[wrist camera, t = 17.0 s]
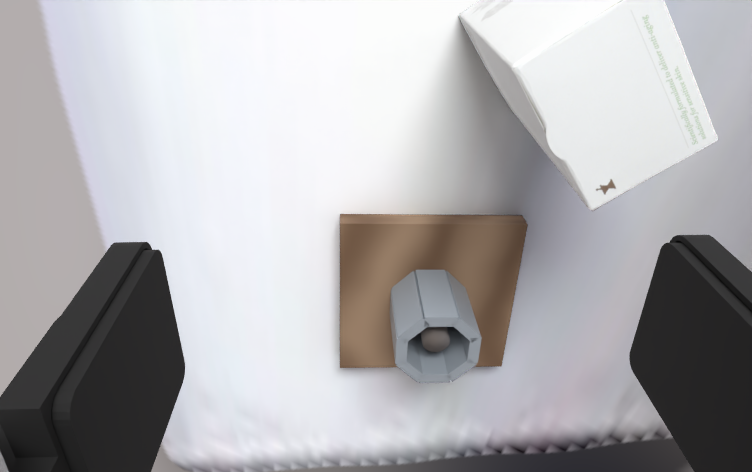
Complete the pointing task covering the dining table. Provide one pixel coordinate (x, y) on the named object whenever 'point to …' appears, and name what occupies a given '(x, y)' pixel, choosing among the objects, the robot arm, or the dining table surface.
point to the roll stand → (425, 252)
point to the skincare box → (595, 86)
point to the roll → (433, 309)
